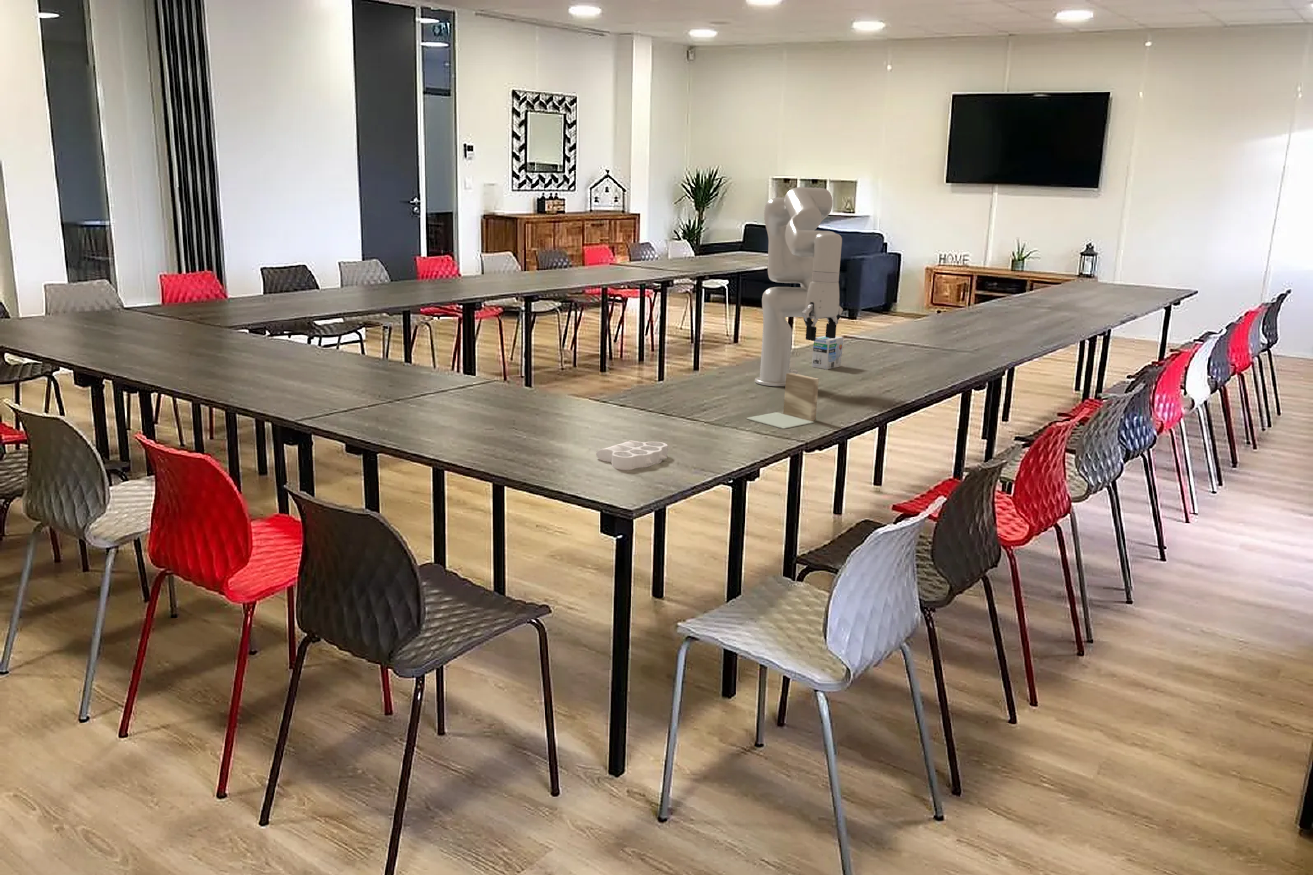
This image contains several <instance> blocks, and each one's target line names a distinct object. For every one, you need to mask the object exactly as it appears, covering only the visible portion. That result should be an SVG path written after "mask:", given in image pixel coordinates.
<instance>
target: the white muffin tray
mask: <svg viewBox="0 0 1313 875" xmlns="http://www.w3.org/2000/svg"><path fill="white" fill-rule="evenodd" d="M668 448H669V445H668V444H667V443H665V442H661V441H646V442H645V441H637V440H627V441H625V442H622V443H619V444H614V445H611V446H609V447H605V448H600V449H599V450H597V451H596V452H595V456H596V458H597V459H598V460H600V461H604V462H609V463H611V467H612V468H613V469H617V470H621V471H623V470H624V471H625V470H626V471H629V470H630V471H631V470H634V469H638V468H639V469H640V468H647V467H648V468H649V467H652V466H653V465H657V464H660V463H662V462H663V461H664V460H666V459H668V450H669V449H668Z"/></svg>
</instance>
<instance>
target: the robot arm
mask: <svg viewBox="0 0 1313 875" xmlns="http://www.w3.org/2000/svg"><path fill="white" fill-rule="evenodd" d="M833 201H834V200H833V197H832V194H831V192H830V191H829V190H828V189H826V188H825V187H804V186H799V187H792V188H791V189H789V190H788V191H787V192H786V194H784V197H773V198H771V199H769V200H768V201H766V203H765V206H764V210H763V217H764V218H763V219H764V225H765V230H766V232H767V238H768V251H767V253H768V254H767V275H768V279H769V280H770V281H771V282H775V283H782V284H783V283H784V284H800V287H795V286H794V287H791V286H774V287H769V288H767V289H766V290H765V291H764V292H763V293H762V296H761V297H762V298H761V307H762V319H763V320H762V340H761V342H762V343H761V353H760V354H761V356H760V367H759V368H760V371H759V376H755V378H754V382H755V383H756V384H758V385H760V386H761V385H762V386H768V387H785V383H786V374H787V373H795V374H799V373H798V370H797V369H791V368H790V367H791V366H790V365H791V354H792V351H791V350H792V339H793V329H792V327H791V325H790V324H789V322H788V321H787V319H786V318H790V317H791V318H792V317H793V318H795V317H796V318H803V322H804V325H805V326H806V328H805V340H806V341H811V342H814V341H815V340H816V337H817V326H816V325H817V322H818V321H819V320H820V319H826V321H827V323H826V324H825V326H826V327H825V336H826V337H828V338H835V337H836V334H837V325H838V324H839V320H840V318H841V316H842V313H843V311H844V309H843V308H842V307H841V305H840V283H839V281H840V269H841V268H840V267H841V258H842V257H841V254H842V245H843V237H842V236H841V235H840V234H839V233H836V232H834V231H830V230H817V228H819V226H820V225H821V222H822V221H823V220H825V219H826V218H828V216H829V215H831V212H832V209H833Z"/></svg>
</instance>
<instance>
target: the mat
mask: <svg viewBox="0 0 1313 875" xmlns="http://www.w3.org/2000/svg"><path fill="white" fill-rule="evenodd" d="M745 419H746V420H748V421H751V422H755V423H759V424H763V425H766V426H771V427H774V428H777V429H781V430H785V429H790V428H795V427H800V426H801V427H802V426H806V425H810V424H814V423H815V422H814V421H808V420H805V419H801V418H797V417H793V416H789V415H785V414H783V413H781V412H777V411H775V412H771V413H765V414H760V415H755V416H749V417H745Z"/></svg>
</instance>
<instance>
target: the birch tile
mask: <svg viewBox="0 0 1313 875" xmlns="http://www.w3.org/2000/svg"><path fill="white" fill-rule="evenodd" d="M819 379H820V378H817V377H816V378H815V377H813V376H807V375H803V374H799V373H798V374H795V373H787V374H786V383H785V386H784V387H785V388H784V399H783V400H784V401H783V413H782V414H785V415H789V416H793V417H797V418H801V419H805V420H808V421H812V422H814V421H816V420H817V407H818V405H817V404H818V395H819V393H818V392H819V382H820V380H819Z"/></svg>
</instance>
